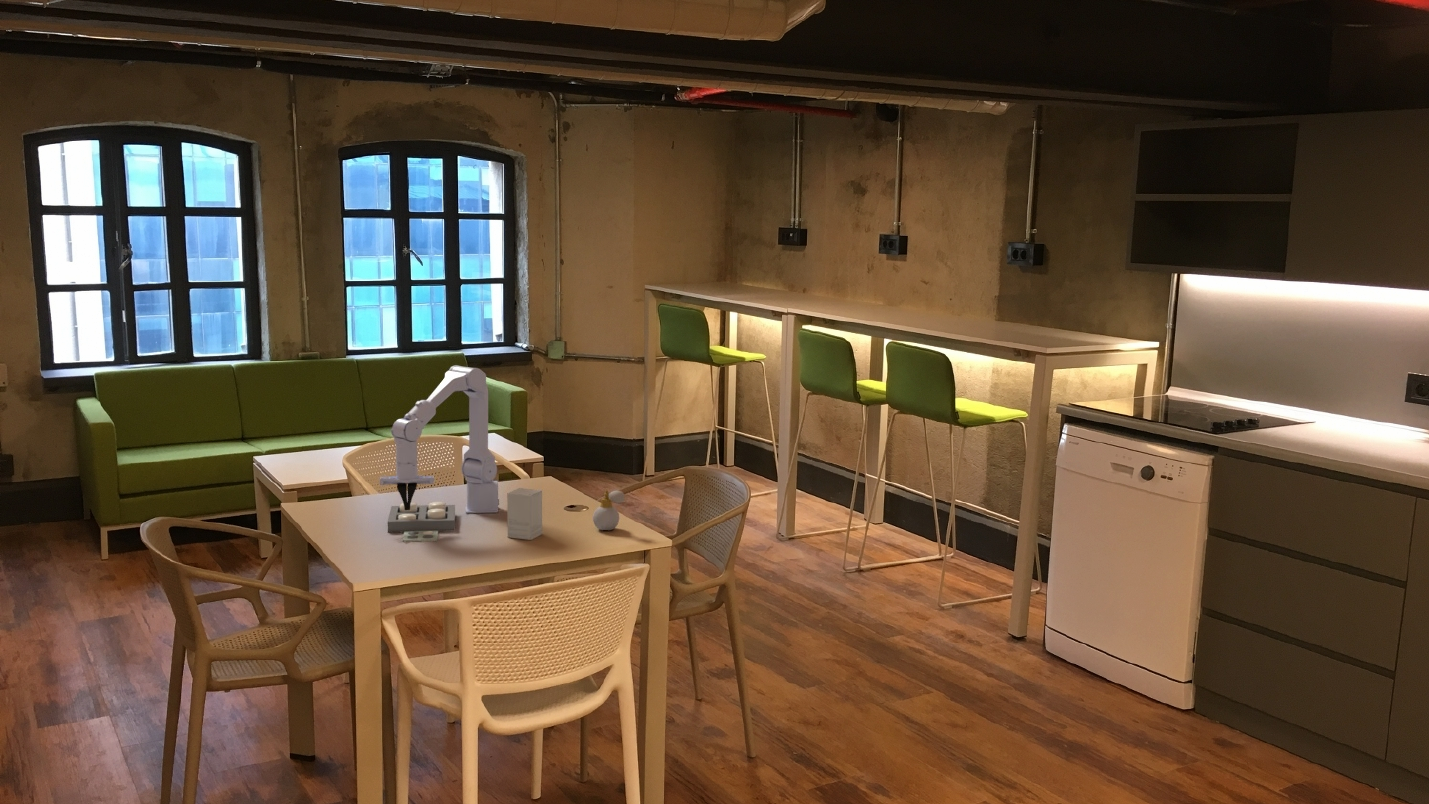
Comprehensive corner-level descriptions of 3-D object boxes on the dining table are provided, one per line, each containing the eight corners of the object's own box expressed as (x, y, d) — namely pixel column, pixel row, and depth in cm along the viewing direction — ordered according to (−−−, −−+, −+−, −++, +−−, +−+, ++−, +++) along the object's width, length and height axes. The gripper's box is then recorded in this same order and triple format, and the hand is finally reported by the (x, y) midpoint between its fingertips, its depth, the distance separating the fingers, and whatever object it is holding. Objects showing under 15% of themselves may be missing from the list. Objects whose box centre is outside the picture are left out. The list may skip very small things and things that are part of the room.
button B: (445, 517, 333) (445, 508, 333) (445, 521, 329) (445, 512, 328) (428, 517, 332) (427, 508, 332) (427, 522, 328) (427, 512, 327)
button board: (455, 514, 344) (455, 504, 344) (454, 530, 327) (454, 520, 327) (391, 516, 341) (391, 506, 340) (387, 532, 323) (387, 521, 323)
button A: (416, 522, 332) (416, 513, 332) (415, 526, 327) (415, 517, 327) (398, 522, 331) (398, 513, 330) (397, 527, 326) (397, 518, 326)
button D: (445, 510, 341) (445, 501, 341) (445, 514, 336) (445, 505, 336) (428, 510, 340) (428, 502, 340) (428, 514, 335) (428, 506, 335)
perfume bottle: (597, 525, 338) (598, 484, 336) (630, 528, 336) (630, 487, 334) (588, 531, 331) (589, 490, 329) (621, 534, 328) (622, 493, 327)
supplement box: (543, 534, 327) (543, 489, 325) (530, 540, 320) (530, 495, 318) (519, 531, 329) (519, 487, 327) (506, 537, 322) (506, 492, 320)
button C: (417, 511, 339) (417, 502, 339) (416, 515, 335) (416, 506, 334) (400, 511, 338) (400, 502, 338) (399, 515, 334) (399, 506, 333)
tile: (437, 532, 325) (437, 529, 325) (437, 540, 316) (437, 538, 316) (404, 532, 323) (404, 530, 323) (402, 541, 315) (402, 539, 314)
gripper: (378, 465, 321) (379, 513, 323) (433, 464, 324) (433, 512, 326) (380, 459, 328) (381, 507, 330) (433, 459, 331) (434, 506, 333)
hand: (407, 509), depth 328 cm, fingers closed
